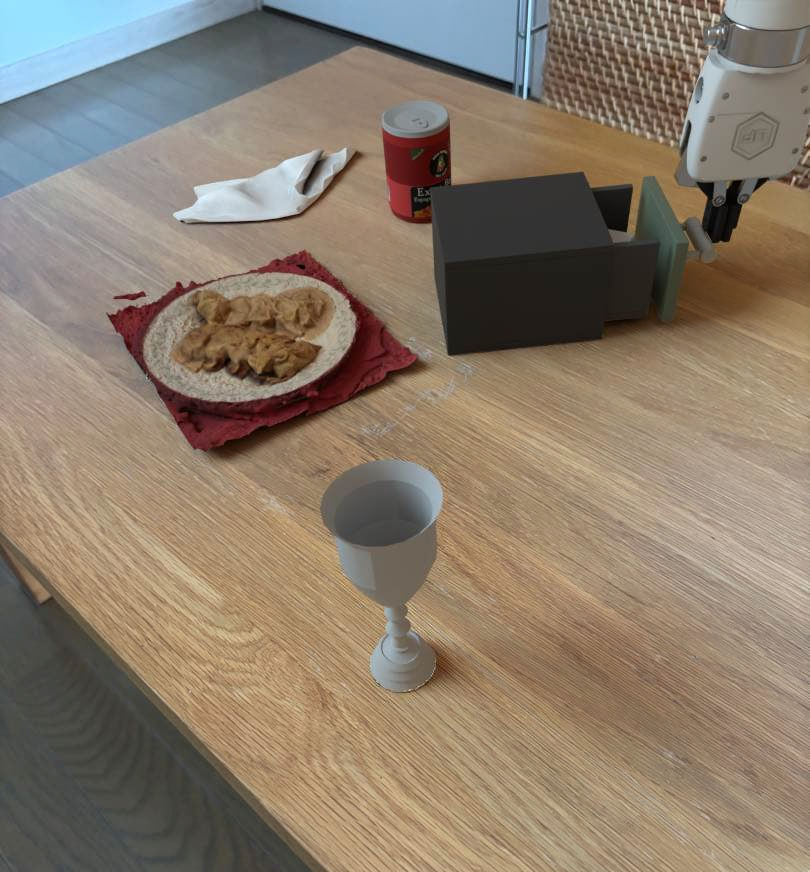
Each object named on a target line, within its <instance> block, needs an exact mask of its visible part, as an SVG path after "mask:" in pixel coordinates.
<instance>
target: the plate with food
mask: <svg viewBox="0 0 810 872" xmlns="http://www.w3.org/2000/svg"><path fill="white" fill-rule="evenodd" d="M297 265H301V266H304V267H305V268H304V269H302V268H300V267H299V266H297ZM146 297H149V294H146V292H145V291H143V290H142V291H140V292H136V293H135V292H134V293H126V294H120V295H115V296H113V297H112V300H128V301H136V300H138V299H140V298H146ZM138 306H139V304H136V305H128V306H126V307H124V308H123V309H122V310H121V309H120V308H118V309H117V311H116V313H111V314H109V312H107V311H106V312H105V313H106V316H107V318H108V320H109V322H110V323H111V324H112V326H113V328H114V330H115V332H116V334H120V335H121V336H122V338H123V343H124V345H125V348H126V349H127V351H128V353H129V354H130V355H131V356H132V357H133V359H134V361H135V362H136V364H137V366H138V367H139V368H140V370H141V371H142V373H143V374H144V375H145V378H146V380H148V383H149V384H153V385H154V387H155V389H156V396H157V397H158V399H159V400H160V401H161V403H162V404H163V406H164V407H165V408H166V409H167V410H168V412H169V413H170V415H171V416H172V421H174V422H175V424H176V425H177V427H178V428H179V430H180V432H181V433H182V435H183V436H184V438H185V440H186V441H187V443H188V444H189V445H190V447H192V449H193V450H194V451H196V450H201V451H203V452H205V453H206V452H208V451H210V450H211V449H212V448H217V447H220V446H224V445H225V442H226V441H229V440H235V439H236V440H238V439H239V440H240V439H241V438H243V437H244V436H247V435H250V434H251V433H252V432H253V431H255V430H258V429H259V428H261V427H263V426H266V427H268V428H270V427H272V426H274V425H277V424H279V423H282V422H286V421H287V420H289V419H291V418H293V417H297V419H299V418H300V417H299V416H298V415H300V414H302V413H304V412H305V411H307V412H306V414H305V417H309V415H314V413H317V412H321V411H323V410H327V409H329V408H331V407H332V406H336V405H337V404H342V403H343V402H345V401H349V399H350V398H355V397H356V393H357V392H359V391H361V390H364V389H365V388H366V387H370V386H372V385H375V384H378V383H380V382H381V381H382V380H383V379H384V378H386V377H387V372H390V371H396V370H400V369H404V368H406V367H408V366H410V365H411V364H412V363H414V362H415V360H416V359H417V358H418V354H414V353H412V351H411V349H410V348H409V347H406V346H404V347H403V346H402V345H401V344H400V343H399V342H398V341H397V340H396V339H395V338H394V337H393V336H391V335H390V333H389V332H387V330H386V329H385V328H384V325H383V324H382V323H381V321H380V319H379V318H378V317H377V316H375V315H373V314H372V313H371V312H369V310H368V308H367V307H366V305H364V303H361V302H360V301H359V300H358V299H357V298H355V296H353V294H352V293H351V292H350V291H348V290H347V289H345V288H344V287H343V285H342V284H341V282H340V281H338V280H337V278H336V277H335V276H334V275H333V274H330V273H329V272H328V270H326V268H324V266H322V264H321V263H320V262H318V261H317V260H315V259H313V257H312V256H311V255H310V254H309V252H308V251H307V250H306V249H305V248H304V249H303V250H302V251H298V253H292V254H291V255H287V256H286V257H284V258H283V259H280V258H274V259H272V260H271V261H270V262H269V263H268V264H267V265H264V266H261V267H258V268H257V269H249V271H246V272H242V273H237V274H229V275H225V276H223V277H218V278H217V279H210V280H207V281H205V282H198V283H196V281H194V280H190V282H189V284H188V286H187V287H184V286H183V283H182V282H181V281H175V287H173V288H171V290H169V291H168V292H167V293H166V294H164V295H161V297H160V298H159V299H157V300H156V301H153V302H151V303H146V302H144V304H142V305H141V306H139V307H138Z"/></svg>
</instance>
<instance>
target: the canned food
mask: <svg viewBox="0 0 810 872" xmlns="http://www.w3.org/2000/svg"><path fill="white" fill-rule="evenodd" d="M381 131H382V133H381V134H382V135H381V136H382V145H383V157H384V169H385V177H386V187H387V189H386V190H387V198H388V205H389V208H390V210H391V213H392V214H393V215H394V216H395V217H396V218H398V219H400V220H402V221H404V222H408V223H414V224H423V223H430V222H432V214H431V194H430V188H431V187H441V186H450V185H452V150H451V148H452V147H451V146H452V145H451V117H450V113H449V110H448V109H447V108H446V106H443V105H442V104H439V103H438V102H433V101H427V100H409V101H404V102H399V103H397V104H394V105H392V106H390V107H389V108H387V109H386V110H385V111H384V112H383V113H382V116H381Z"/></svg>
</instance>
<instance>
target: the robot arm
mask: <svg viewBox="0 0 810 872" xmlns="http://www.w3.org/2000/svg"><path fill="white" fill-rule="evenodd" d="M724 5H725V6H724V11H723V12H721V14H720V17H719V21H718V22H717V24H714V25H713V26H709V27H708V26H707V27H706V26H705V28H704V30H703V34H702V43H703V46H712V47H714V48H713V49H710V50H709V51H708V53H707V56H706V58H705V60H704V63H703V64H702V67H701V70H700V72H699V75H698V77H697V80H696V83H695V85H694V89H693V92H692V96H691V98H690V102H689V105H688V109H687V111H686V116H685V119H684V122H683V123H684V124H683V127H682V132H681V137H680V141H679V149H678V155H679V158H680V159H679V162H678V165H677V167H676V169H675V171H674V174H673V178H674V180H675V181H676V183H677V185H678V186H679V187H685V188H686V187H687V188H693V189H699V190H700V191H701V192H702V194H704V195H705V197H706V202H705V206H704V211H703V215H702V220H701V225H702V228H703V230H704V231H705V232H706V234H707V235H708V237H709V239H710V241H711V243H712V244H719V243H720V242H722V243H729V242H730V241H731V237H732V235H733V232H734V231H733V230H736V229H737V227H738V224H739V220H740V216H741V212H742V208H743V205H744V204H745V205H746V204H747V203H748V202H749V201H750V200H751V197H752V195H753V194H754V193H755V192H756V191H757V190H759V189H760V188H761V187H762V186H764V185H765V184H766V183H767V182H771V181H775V180H778V179H781V178H785V177H786V176H788V175H789V174H790V173H791V172H792V171H794V169H796V168H797V166H798V164H799V162H800V159H801V156H802V153H803V150H804V145H805V142H806V138H807V133H808V130H809V125H810V0H726V1H725V4H724ZM728 182H729V183H728Z"/></svg>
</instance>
